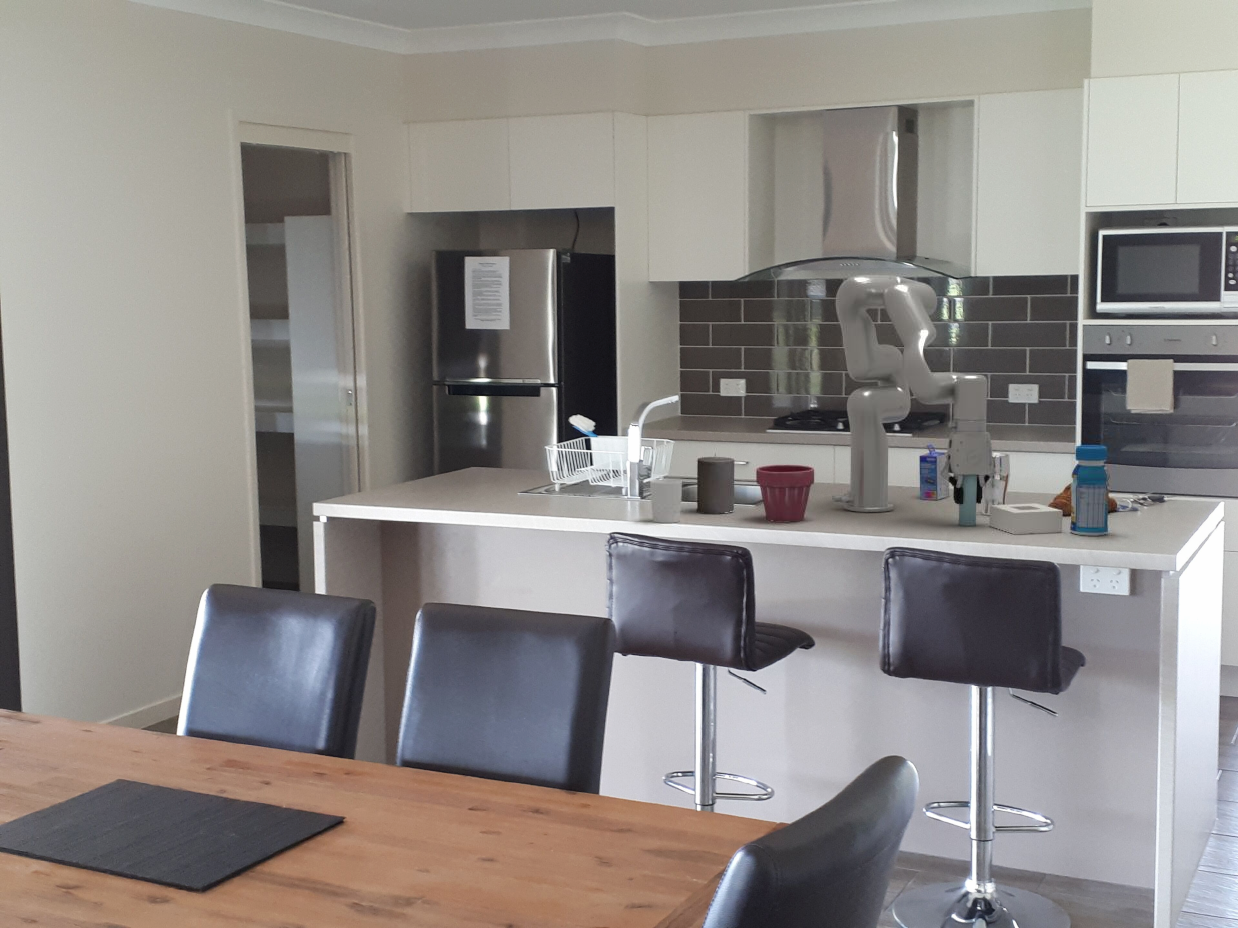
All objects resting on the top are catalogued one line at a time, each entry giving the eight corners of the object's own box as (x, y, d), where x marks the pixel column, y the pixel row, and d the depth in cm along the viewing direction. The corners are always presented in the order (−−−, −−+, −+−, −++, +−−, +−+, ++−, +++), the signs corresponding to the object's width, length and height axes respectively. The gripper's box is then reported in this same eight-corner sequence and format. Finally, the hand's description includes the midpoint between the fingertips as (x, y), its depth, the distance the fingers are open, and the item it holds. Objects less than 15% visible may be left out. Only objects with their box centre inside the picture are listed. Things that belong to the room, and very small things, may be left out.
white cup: (648, 519, 333) (648, 479, 332) (680, 518, 334) (680, 478, 333) (652, 524, 325) (652, 483, 324) (684, 523, 326) (684, 482, 325)
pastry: (1055, 507, 347) (1056, 476, 346) (1118, 510, 340) (1119, 479, 339) (1045, 516, 332) (1046, 484, 331) (1111, 520, 325) (1112, 487, 324)
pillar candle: (689, 511, 344) (689, 454, 342) (712, 507, 351) (713, 450, 349) (718, 515, 338) (718, 457, 336) (742, 511, 345) (742, 453, 343)
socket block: (1013, 534, 305) (1014, 512, 304) (989, 526, 316) (989, 505, 316) (1062, 532, 307) (1062, 510, 306) (1035, 524, 319) (1036, 503, 318)
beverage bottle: (1087, 537, 300) (1090, 449, 297) (1061, 532, 307) (1063, 445, 305) (1116, 534, 303) (1119, 447, 301) (1089, 529, 311) (1092, 443, 308)
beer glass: (1010, 516, 331) (1011, 456, 329) (981, 515, 332) (982, 456, 330) (1007, 512, 338) (1009, 453, 336) (979, 511, 339) (980, 453, 337)
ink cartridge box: (930, 494, 370) (931, 443, 369) (950, 496, 367) (950, 443, 366) (918, 499, 362) (918, 446, 360) (937, 500, 359) (938, 447, 357)
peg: (963, 526, 316) (964, 467, 315) (955, 523, 320) (957, 465, 319) (978, 525, 317) (980, 467, 315) (971, 522, 321) (972, 465, 319)
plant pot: (780, 525, 321) (780, 472, 319) (744, 518, 333) (744, 467, 331) (826, 520, 328) (826, 468, 327) (789, 513, 340) (789, 463, 339)
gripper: (943, 429, 311) (941, 506, 313) (1009, 427, 314) (1007, 504, 316) (929, 426, 318) (928, 502, 320) (994, 424, 321) (992, 499, 323)
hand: (967, 502), depth 318 cm, fingers closed on peg, 4 cm apart
